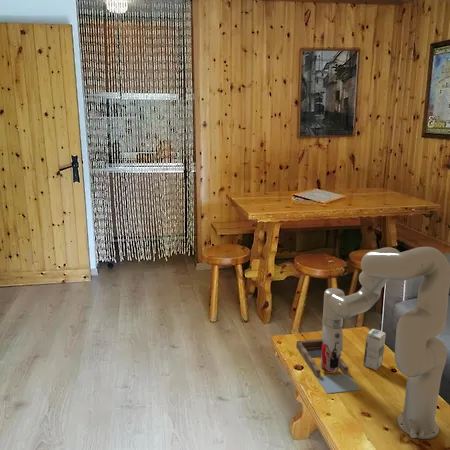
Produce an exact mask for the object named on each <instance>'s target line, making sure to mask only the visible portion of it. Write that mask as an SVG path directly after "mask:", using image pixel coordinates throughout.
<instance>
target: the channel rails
mask: <svg viewBox="0 0 450 450" xmlns="http://www.w3.org/2000/svg"><path fill="white" fill-rule="evenodd" d="M322 344H323V342H322V338H321V339H320V338H319V339H308V340H297V341H296V345H295V346H296V347H295V348H296V349H297V351H298V353H299V354H300V355H301V357H302V359H303V360H304V362H305V363H306V364H307V366H308V367H309V369H310V370H311V372H312V374H313V375H314V376H315V378H316V377H320V376H321V369H320V368H319V366H318V365H317V363H316V362H315V360H314V359H313V358H311V356H310V355H309V353H308V352H307V350H306V349H309V348H320V347H322ZM338 370H340V372H342V374H349V366H348V365H347V363H346V362H345V361H344V360H343V359H342V358H341V357H340V360H339V369H338Z"/></svg>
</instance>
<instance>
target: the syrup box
mask: <svg viewBox="0 0 450 450" xmlns="http://www.w3.org/2000/svg"><path fill="white" fill-rule="evenodd" d="M386 335H387V334H386V332H384V331H382V330H379V329H376V328H372V329H371V330H370V331H368V333H366V336H365V337H366V338H365V339H366V340H365V347H364V355H363V364H362V365H363V367H366V368H369V369H372V370H375V371H378V370H379V369H380V368H381V366H382V365H383V360H384V352H385V351H384V350H385V343H386Z"/></svg>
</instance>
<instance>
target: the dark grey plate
mask: <svg viewBox="0 0 450 450" xmlns="http://www.w3.org/2000/svg"><path fill="white" fill-rule="evenodd" d="M306 350H307V352H308V353H309V355H310V356H311V358H312V359H313V358H321V351H322V347H318V348H307V349H306Z"/></svg>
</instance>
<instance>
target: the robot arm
mask: <svg viewBox="0 0 450 450" xmlns="http://www.w3.org/2000/svg"><path fill="white" fill-rule="evenodd" d="M360 267H361V270H362V271H361V272H360V273H359V276H358V281H359V284H360V285H361V288H360V289H359V290H358V291H357V292H355V293H351V294H348V295H345V292H344V290H343V289H340V288H336V287H331V288H326V289H325V291H324V294H323V310H322V311H323V312H322V328H321V329H322V330H321V339H322V342H325V343H326V344H327V345H328V348H329V351H330V352H331V358H330V368H337V367H338V361H339V358H341V356H342V352H343V348H344V343H343V341H344V340H343V339H344V336H343V322H344V319H350V318H352V317H355V316H357V315H359V314H363V313H365V312H367V311H368V310H370V309H371V308H372V307H373V306H374V305H375V304H376V302H378V300H379V299H380V298H381V294H382V293H381V292H382V289H383V288H384V286H385V285H386V284H387V283H388V282H389V281H390V280H391V281H411V280H412V279H416V278H419V277H422V280H421V283H420V284H419V288H418V291H417V299H416V305H415V308H413V309H412V310H409V311H406V312H405V313H404V314H402V315H401V316H400V318H399V320H398V322H397V325H396V331H395V332H396V334H395V342H394V343H395V344H394V362H395V365H396V368H397V369H398V371H399V372H400V373H401V374H402V375H404V376H406V377H407V378H406V379H407V380H406V387H405V397H404V405H403V411H402V412H400V413H399V415H398V416H397V420H396V421H397V422H396V423H397V426H398V427H399V428H400V430H402V432H404V433H405V434H407V435H408V436H409V437H410V438H411V439H415V438H417V439H420V440H430V439H433V438H436V437H437V436H438V435H439V431H440V427H439V425H438V423H437V421H436V413H437V409H438V408H437V406H438V401H439V393H440V389H441V381H442V375H443V373H444V369H445V365H446V364H447V363H446V362H447V360H448V352H447V351H448V350H447V347H446V345H445V343H444V342H443V341H442V340H441V339H440V338H438V337H437V336H439V335H440V334H442V333H443V332H444V331H445V329H446V325H447V324H446V323H447V315H448V314H447V313H448V306H449V293H450V262H449V261H448V259H447V257H446V256H445V255H444V254H443V253H442V252H441V251H440V250H439V249H437V248H435V247H432V246H419V247H414V248H411V249H408V250H405V251H402V252H401V251H400V250H398V249H396V248H393V247H389V246H387V247H382V248H379V249H373V250H370V251H368V252H367V253H365V254H364V255H363V257H362V259H361V262H360ZM334 349H335V351H333V350H334ZM333 352H336V355H333Z"/></svg>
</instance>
